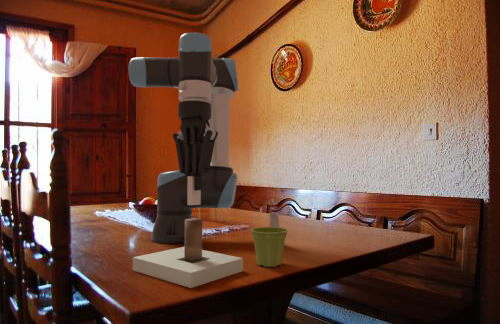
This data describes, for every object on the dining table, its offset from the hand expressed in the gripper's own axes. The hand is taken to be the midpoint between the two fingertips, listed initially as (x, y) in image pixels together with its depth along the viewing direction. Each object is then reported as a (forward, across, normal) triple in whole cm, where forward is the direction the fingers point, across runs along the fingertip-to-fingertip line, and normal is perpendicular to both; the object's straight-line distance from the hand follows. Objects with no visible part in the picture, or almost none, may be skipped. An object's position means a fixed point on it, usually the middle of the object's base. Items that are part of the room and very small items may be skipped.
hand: (194, 204), depth 84 cm
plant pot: (+16, +9, +17) cm, 25 cm away
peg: (+15, 0, 0) cm, 15 cm away
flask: (+16, -3, +36) cm, 39 cm away
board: (+15, -2, 0) cm, 16 cm away
